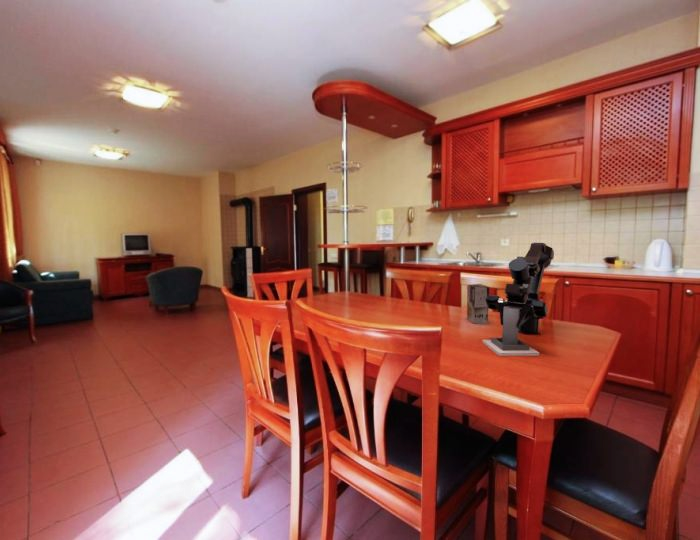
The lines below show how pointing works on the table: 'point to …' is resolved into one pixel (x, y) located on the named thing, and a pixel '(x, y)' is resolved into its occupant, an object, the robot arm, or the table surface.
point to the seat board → (510, 348)
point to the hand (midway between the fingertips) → (509, 325)
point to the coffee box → (477, 304)
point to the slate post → (510, 325)
